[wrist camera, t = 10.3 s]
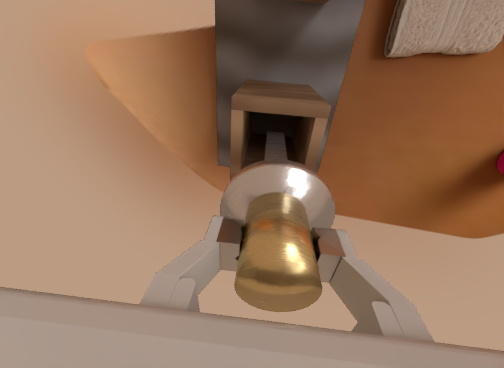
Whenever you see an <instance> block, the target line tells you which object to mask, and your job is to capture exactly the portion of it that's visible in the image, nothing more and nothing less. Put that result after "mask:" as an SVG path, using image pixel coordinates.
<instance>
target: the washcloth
mask: <svg viewBox="0 0 504 368" xmlns="http://www.w3.org/2000/svg"><path fill="white" fill-rule="evenodd" d="M503 34H504V0H397V3H396V6H395V9H394V13H393V16H392V20H391V23H390V27H389V30H388V34H387V37H386V42H385V47H384V55H385V57H391V58H395V57H401V56H402V57H406V56H412V55H416V54H420V53H426V52H427V53H437V52H440V53H442V54H459V55H462V54H470V53H472V54H474V53H476V54H477V53H486V52H489V51H491V50H492V49H494V48H495V47H496V45H497V44H498V43H499V42H501V40H502V36H503Z"/></svg>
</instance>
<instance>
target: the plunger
mask: <svg viewBox="0 0 504 368" xmlns="http://www.w3.org/2000/svg"><path fill="white" fill-rule="evenodd" d="M220 216H223V217H224V216H225V217H232V218H240V219H244V229H243V235H242V241H241V248H240V254H239V259H238V265H237V271H236V277H235V284H234V285H235V291H236V293H237V294H238V296H239V297H240V298H241V299H242V300H244V301H245V302H246V303H248V304H250V305H252V306H254V307H256V308H259V309H262V310H267V311H274V312H289V311H296V310H300V309H303V308H306V307H308V306H310V305H311V304H313V303H314V302H316V301H317V300H318V298H319V297H320V295H321V293H322V285H321V279H320V274H319V270H318V265H317V260H316V255H315V250H314V246H313V241H312V236H311V229H312V228H313V227H320V228H331V226H332V224H333V221H334V217H335V205H334V201H333V198H332V195H331V193H330V190H329V188H328V186H327V184H326V183H325V181H324V180H323V178H322V177H321V176H320V175H319V174H318V173H316V172H315V171H314V170H313V169H311V168H309V167H308V166H306V165H303V164H301V163H298V162H295V161H291V160H287V153H286V145H285V138H284V133H279V132H269V131H267V138H266V147H265V160H263V161H259V162H256V163H253V164H251V165H249V166H246V167H245V168H243V169H242V170H240V171H239V172H238V173H237V174H235V175H234V176H233V178H232V179H231V180H230V181H229V183H228V185H227V187H226V189H225V191H224V194H223V197H222V200H221V205H220Z"/></svg>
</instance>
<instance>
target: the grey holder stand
mask: <svg viewBox="0 0 504 368" xmlns="http://www.w3.org/2000/svg"><path fill="white" fill-rule="evenodd" d="M364 3H365V0H215V30H216V85H217V139H218V166H228V167H230V180H231V179H232V178H233V176H234V175H235V174H237V173H238V172H239V171H240V170H242V169H243V168H245V167H246V166H249V165H251V164H253V163H256V162H259V161H263V160H265V147H266V138H267V131H269V132H279V133H284V138H285V145H286V153H287V160H291V161H295V162H298V163H301V164H303V165H306V166H308V167H309V168H311V169H313V170H314V171H315V172H316V173H317V172H318V168H319V165H320V161H321V157H322V154H323V150H324V147H325V143H326V140H327V136H328V132H329V129H330V125H331V122H332V118H333V114H334V111H335V107H336V104H337V100H338V97H339V93H340V89H341V86H342V82H343V79H344V75H345V71H346V68H347V64H348V61H349V57H350V54H351V50H352V46H353V43H354V39H355V36H356V32H357V29H358V25H359V21H360V18H361V14H362V11H363V7H364Z"/></svg>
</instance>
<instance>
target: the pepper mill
mask: <svg viewBox="0 0 504 368" xmlns="http://www.w3.org/2000/svg"><path fill="white" fill-rule="evenodd" d="M497 169H498V171H499V172H500V173H502V174H504V152H503V153H502V154H501V155H500V157H499V159H498V162H497Z"/></svg>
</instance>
